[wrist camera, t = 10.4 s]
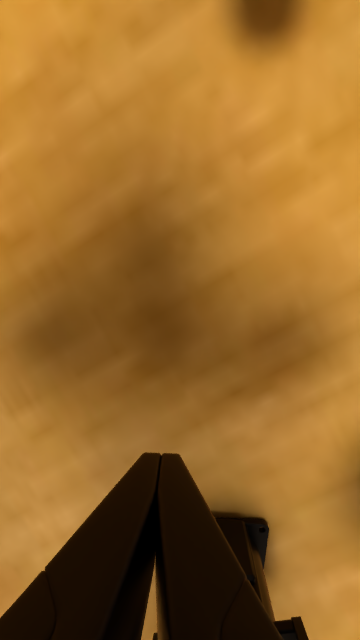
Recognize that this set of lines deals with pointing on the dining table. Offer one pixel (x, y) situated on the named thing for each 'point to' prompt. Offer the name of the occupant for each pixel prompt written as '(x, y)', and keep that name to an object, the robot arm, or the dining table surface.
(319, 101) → the dining table surface
